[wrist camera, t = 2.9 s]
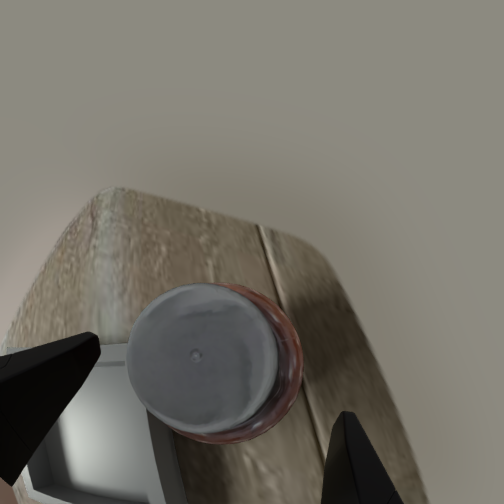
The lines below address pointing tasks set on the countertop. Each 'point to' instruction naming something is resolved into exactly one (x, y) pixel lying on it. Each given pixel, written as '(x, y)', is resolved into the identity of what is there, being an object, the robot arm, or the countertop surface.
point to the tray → (105, 445)
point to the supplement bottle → (215, 362)
